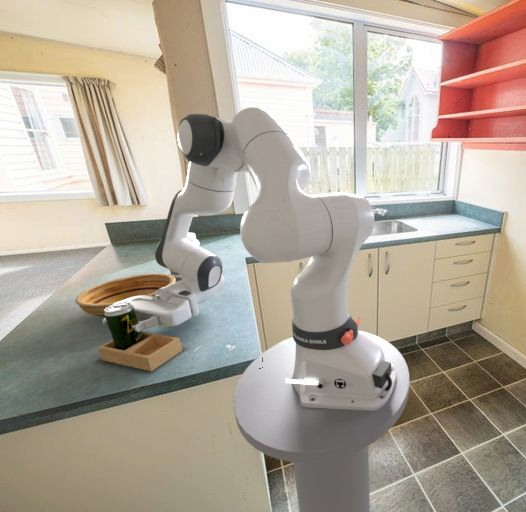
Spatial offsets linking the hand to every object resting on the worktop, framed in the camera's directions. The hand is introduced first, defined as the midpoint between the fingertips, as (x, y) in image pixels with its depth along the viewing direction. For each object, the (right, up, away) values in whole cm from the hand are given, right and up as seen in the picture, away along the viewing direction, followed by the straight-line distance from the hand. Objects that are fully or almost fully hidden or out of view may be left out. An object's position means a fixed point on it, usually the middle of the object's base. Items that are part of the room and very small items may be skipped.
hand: (119, 326), depth 71 cm
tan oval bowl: (-17, -1, +24) cm, 30 cm away
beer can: (0, -7, +3) cm, 8 cm away
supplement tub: (-20, +9, +55) cm, 59 cm away
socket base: (+4, -8, +3) cm, 9 cm away
